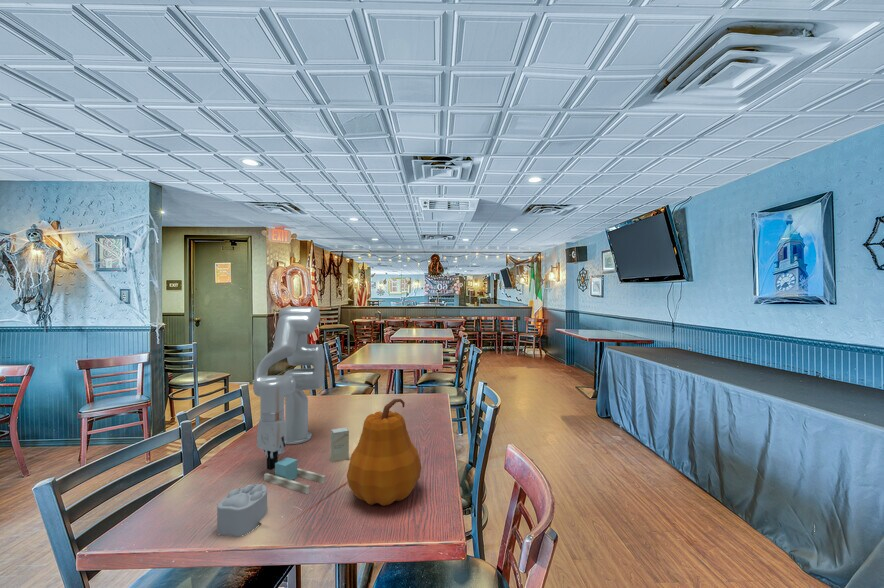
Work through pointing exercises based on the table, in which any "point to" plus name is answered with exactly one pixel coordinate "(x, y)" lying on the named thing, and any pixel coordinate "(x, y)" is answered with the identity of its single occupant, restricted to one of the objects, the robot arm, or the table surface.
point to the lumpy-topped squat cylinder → (242, 510)
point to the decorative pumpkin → (384, 459)
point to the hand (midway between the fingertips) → (272, 467)
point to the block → (286, 468)
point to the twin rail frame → (293, 484)
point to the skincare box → (339, 444)
